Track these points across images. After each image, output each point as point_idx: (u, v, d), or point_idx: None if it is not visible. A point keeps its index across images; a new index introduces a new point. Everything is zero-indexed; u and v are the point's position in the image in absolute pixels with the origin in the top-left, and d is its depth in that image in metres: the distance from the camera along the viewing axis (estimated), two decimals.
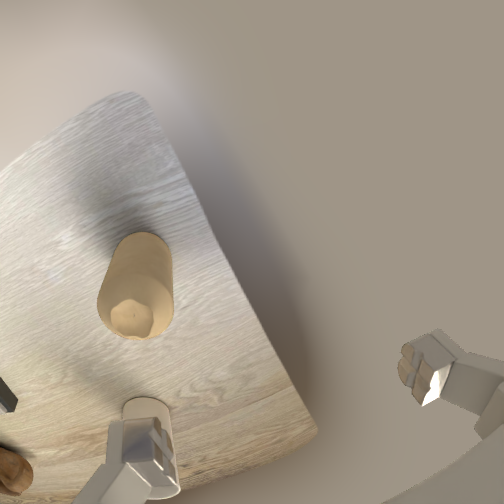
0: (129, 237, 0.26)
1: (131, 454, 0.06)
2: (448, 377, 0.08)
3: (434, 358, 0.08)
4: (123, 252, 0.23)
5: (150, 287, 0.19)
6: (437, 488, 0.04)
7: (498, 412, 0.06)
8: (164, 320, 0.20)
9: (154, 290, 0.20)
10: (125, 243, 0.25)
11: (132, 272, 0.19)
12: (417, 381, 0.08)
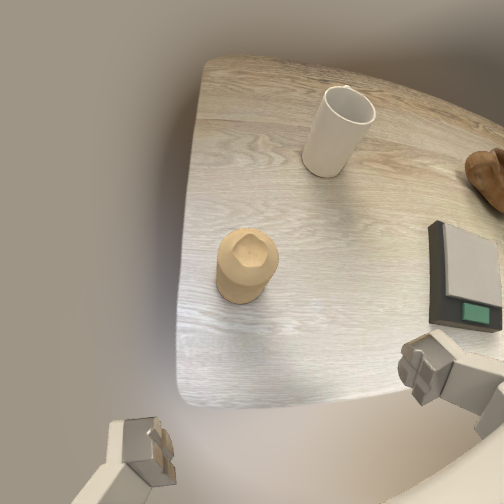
0: (238, 302, 0.34)
1: (130, 454, 0.06)
2: (448, 377, 0.08)
3: (434, 358, 0.08)
4: (241, 295, 0.31)
5: (226, 265, 0.27)
6: (437, 488, 0.04)
7: (498, 412, 0.06)
8: (232, 237, 0.28)
9: (224, 261, 0.27)
10: (241, 300, 0.33)
11: (233, 281, 0.27)
12: (417, 381, 0.08)
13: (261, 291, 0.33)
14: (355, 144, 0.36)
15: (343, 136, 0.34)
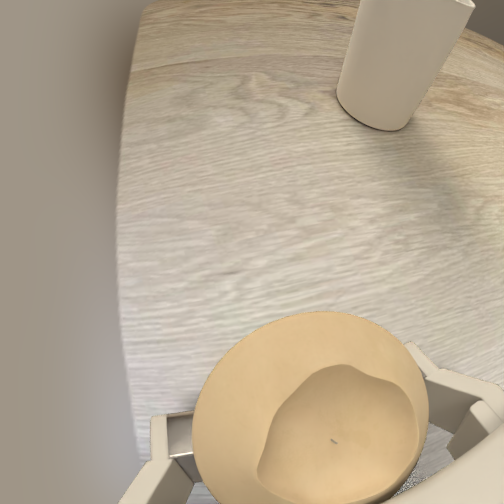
0: None
1: (178, 449, 0.07)
2: None
3: None
4: None
5: None
6: (437, 488, 0.04)
7: (470, 434, 0.06)
8: (238, 385, 0.05)
9: (229, 494, 0.05)
10: None
11: None
12: None
13: None
14: (448, 54, 0.13)
15: (434, 32, 0.11)
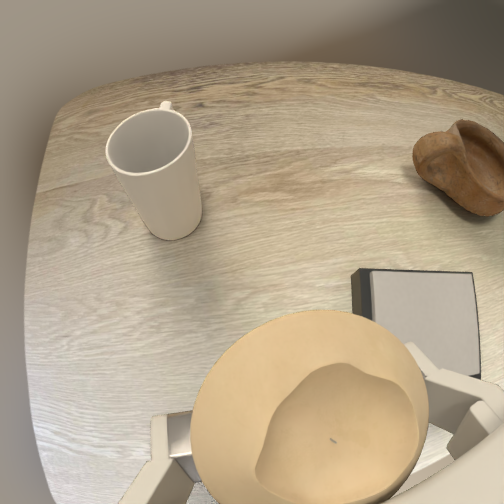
0: None
1: (178, 449, 0.07)
2: None
3: None
4: None
5: None
6: (437, 488, 0.04)
7: (470, 434, 0.06)
8: (237, 384, 0.05)
9: (228, 494, 0.05)
10: None
11: None
12: None
13: None
14: (178, 195, 0.24)
15: (146, 194, 0.22)
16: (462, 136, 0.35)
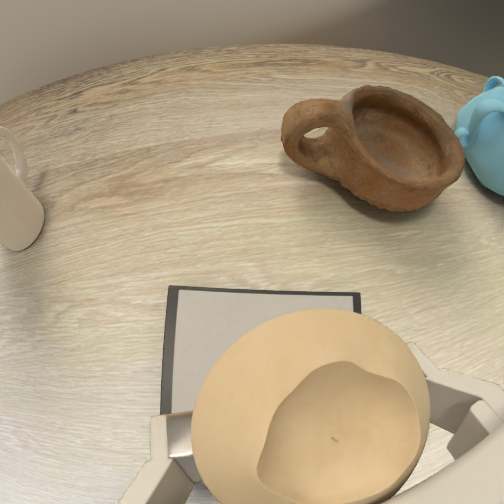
0: None
1: (177, 449, 0.07)
2: None
3: None
4: None
5: None
6: (437, 488, 0.04)
7: (470, 434, 0.06)
8: (238, 383, 0.05)
9: (229, 493, 0.05)
10: None
11: None
12: None
13: None
14: None
15: None
16: (375, 108, 0.30)
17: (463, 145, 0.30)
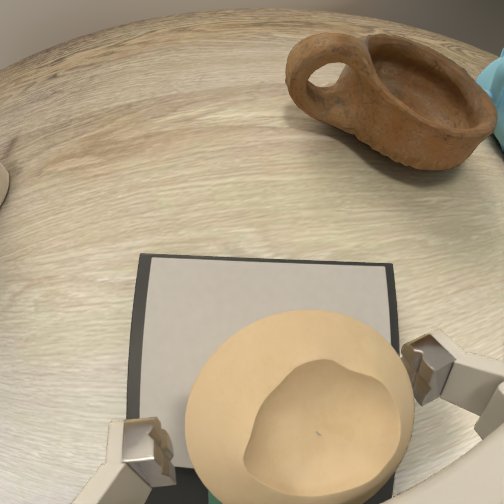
0: None
1: (131, 454, 0.06)
2: (448, 377, 0.08)
3: (434, 358, 0.08)
4: None
5: (229, 494, 0.05)
6: (437, 488, 0.04)
7: (498, 412, 0.06)
8: (228, 379, 0.06)
9: (220, 483, 0.05)
10: None
11: None
12: (417, 381, 0.08)
13: None
14: None
15: None
16: (391, 62, 0.24)
17: None
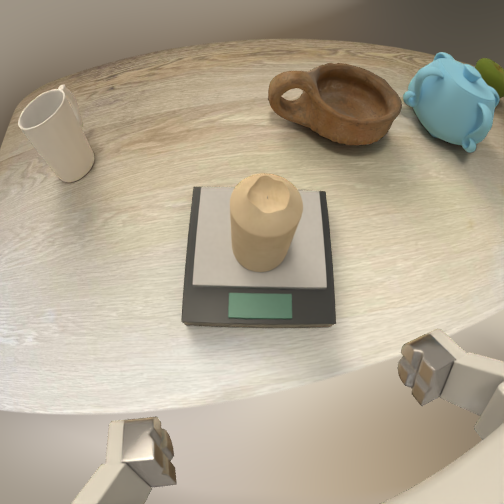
0: (263, 269, 0.29)
1: (131, 454, 0.06)
2: (448, 377, 0.08)
3: (434, 358, 0.08)
4: (266, 256, 0.26)
5: (242, 217, 0.22)
6: (437, 488, 0.04)
7: (498, 412, 0.06)
8: (242, 185, 0.23)
9: (240, 213, 0.22)
10: (266, 264, 0.28)
11: (255, 235, 0.22)
12: (417, 381, 0.08)
13: (287, 249, 0.28)
14: (60, 142, 0.30)
15: (39, 142, 0.28)
16: (338, 80, 0.41)
17: (411, 104, 0.41)
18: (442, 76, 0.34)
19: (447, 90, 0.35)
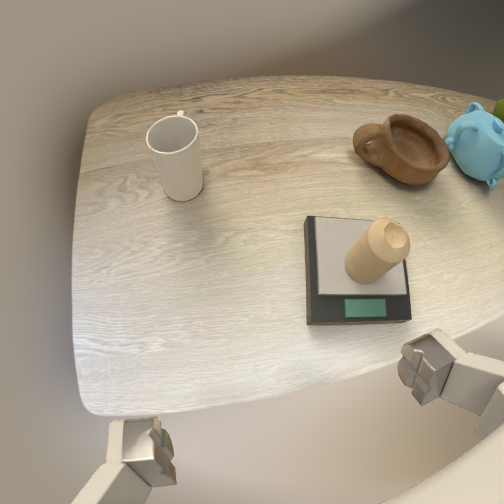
0: (369, 282, 0.39)
1: (131, 454, 0.06)
2: (448, 377, 0.08)
3: (434, 358, 0.08)
4: (380, 274, 0.36)
5: (379, 250, 0.32)
6: (437, 488, 0.04)
7: (498, 412, 0.06)
8: (376, 227, 0.33)
9: (378, 247, 0.32)
10: (374, 279, 0.38)
11: (386, 262, 0.32)
12: (417, 381, 0.08)
13: None
14: (189, 168, 0.40)
15: (170, 166, 0.38)
16: (399, 127, 0.50)
17: (450, 148, 0.51)
18: (477, 129, 0.44)
19: (480, 141, 0.44)
